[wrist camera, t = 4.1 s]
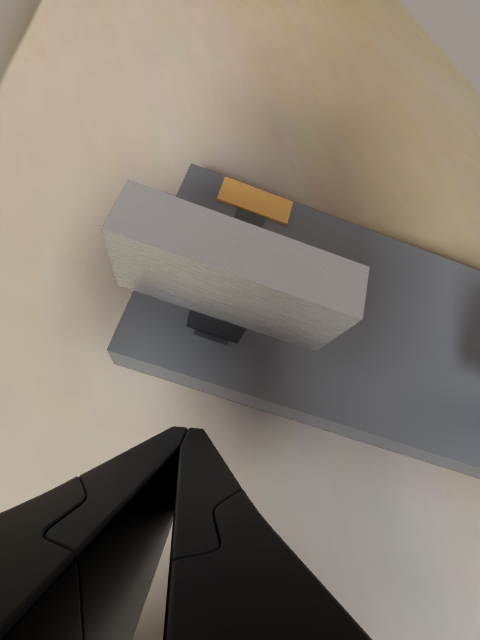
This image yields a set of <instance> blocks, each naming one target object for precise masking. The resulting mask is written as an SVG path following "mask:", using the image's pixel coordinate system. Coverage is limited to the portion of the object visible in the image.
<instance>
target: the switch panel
mask: <svg viewBox="0 0 480 640" xmlns="http://www.w3.org/2000/svg"><path fill="white" fill-rule="evenodd" d="M176 197H178V198H180V199H183V200H186V201H189V202H191V203H194V204H197V205H200V206H203V207H205V208H208V209H211V210H214V211H216V212H219V213H222V214H225V215H227V216H230V217H233V218H236V219H239V220H241V221H244V222H247V223H250V224H252V225H255V226H258V227H261V228H263V229H266V230H269V231H272V232H275V233H277V234H280V235H283V236H286V237H288V238H291V239H294V240H297V241H299V242H302V243H305V244H308V245H311V246H313V247H316V248H319V249H322V250H324V251H327V252H330V253H333V254H335V255H338V256H341V257H344V258H347V259H349V260H352V261H355V262H358V263H360V264H363V265H366V266H369V267H370V269H369V276H368V283H367V291H366V298H365V306H364V313H363V319H362V320H361V321H359V322H358V323H357V324H355V325H354V326H352V327H351V328H349V329H348V330H346V331H345V332H343V333H342V334H341V335H339V336H338V337H336V338H335V339H333V340H332V341H330V342H329V343H327V344H326V345H325V346H323V347H322V348H320V349H319V350H317V351H313V350H310V349H307V348H304V347H301V346H298V345H295V344H292V343H289V342H286V341H283V340H280V339H277V338H274V337H271V336H268V335H265V334H262V333H259V332H256V331H253V330H250V329H247V330H246V331H245V333H244V334H243V336H242V337H241V339H240V340H239V342H238V343H234V342H231V341H228V340H225V339H222V338H219V337H216V336H213V335H210V334H207V333H204V332H201V331H198V330H195V329H192V328H189V327H186V326H187V320H188V314H189V309H187V308H184V307H181V306H178V305H175V304H172V303H169V302H166V301H163V300H160V299H157V298H154V297H151V296H148V295H145V294H142V293H139V292H136V291H133V293H132V295H131V298H130V300H129V302H128V304H127V306H126V309H125V311H124V313H123V315H122V317H121V320H120V322H119V324H118V326H117V329H116V331H115V333H114V335H113V337H112V340H111V342H110V344H109V346H108V348H107V351H108V353H109V355H110V357H111V359H112V361H113V362H114V364H117V365H120V366H123V367H126V368H129V369H133V370H136V371H139V372H142V373H145V374H148V375H152V376H155V377H158V378H161V379H164V380H167V381H171V382H174V383H177V384H180V385H183V386H187V387H190V388H193V389H196V390H199V391H202V392H206V393H209V394H212V395H215V396H218V397H222V398H225V399H228V400H231V401H234V402H237V403H241V404H244V405H247V406H250V407H253V408H256V409H260V410H263V411H266V412H269V413H272V414H276V415H279V416H282V417H285V418H288V419H291V420H295V421H298V422H301V423H304V424H307V425H311V426H314V427H317V428H320V429H323V430H326V431H330V432H333V433H336V434H339V435H342V436H345V437H349V438H352V439H355V440H358V441H361V442H365V443H368V444H371V445H374V446H377V447H380V448H384V449H387V450H390V451H393V452H396V453H400V454H403V455H406V456H409V457H412V458H415V459H419V460H422V461H425V462H428V463H431V464H434V465H438V466H441V467H444V468H447V469H450V470H454V471H457V472H460V473H463V474H466V475H469V476H473V477H476V478H479V479H480V271H479V270H477V269H474V268H471V267H469V266H466V265H463V264H460V263H458V262H455V261H452V260H450V259H447V258H444V257H442V256H439V255H436V254H434V253H431V252H428V251H425V250H423V249H420V248H417V247H415V246H412V245H409V244H407V243H404V242H401V241H398V240H396V239H393V238H390V237H388V236H385V235H382V234H380V233H377V232H374V231H371V230H369V229H366V228H363V227H361V226H358V225H355V224H353V223H350V222H347V221H345V220H342V219H339V218H336V217H334V216H331V215H328V214H326V213H323V212H320V211H318V210H315V209H312V208H309V207H307V206H304V205H301V204H299V203H296V202H293V201H291V200H288V199H285V198H282V197H280V196H277V195H274V194H272V193H269V192H266V191H264V190H261V189H258V188H256V187H253V186H250V185H247V184H245V183H242V182H239V181H237V180H234V179H231V178H229V177H226V176H223V175H220V174H218V173H215V172H212V171H210V170H207V169H204V168H202V167H199V166H196V165H194V164H191V165H190V167H189V169H188V171H187V174H186V176H185V178H184V180H183V182H182V185H181V187H180V189H179V191H178V193H177V196H176Z"/></svg>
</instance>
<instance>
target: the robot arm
mask: <svg viewBox="0 0 480 640" xmlns="http://www.w3.org/2000/svg"><path fill="white" fill-rule="evenodd" d="M172 522H173V528H172V540H171V552H170V564H169V575H168V587H167V599H166V611H165V623H164V635H163V640H372V639H371V638H370V637H369V636H368V634H367V633H366V632H365V631H364V630H363V629H362V628H361V627H360V626H359V624H358V623H357V622H356V621H355V620H354V619H353V618H352V617H351V616H350V614H349V613H348V612H347V611H346V610H345V609H344V608H343V607H342V605H341V604H340V603H339V602H338V601H337V600H336V599H335V598H334V597H333V595H332V594H331V593H330V592H329V591H328V590H327V589H326V588H325V587H324V585H323V584H322V583H321V582H320V581H319V580H318V579H317V578H316V576H315V575H314V574H313V573H312V572H311V571H310V570H309V569H308V568H307V566H306V565H305V564H304V563H303V562H302V561H301V560H300V559H299V558H298V556H297V555H296V554H295V553H294V552H293V551H292V550H291V549H290V548H289V546H288V545H287V544H286V543H285V542H284V541H283V540H282V539H281V537H280V536H279V535H278V534H277V533H276V532H275V531H274V530H273V529H272V527H271V526H270V525H269V524H268V523H267V521H266V520H265V519H264V518H263V517H262V515H261V514H260V513H259V512H258V510H257V509H256V507H255V506H254V505H253V503H252V502H251V500H250V499H249V498H248V496H247V494H246V493H245V491H244V490H243V489H242V488H241V486H240V485H239V483H238V481H237V480H236V478H235V477H234V475H233V474H232V472H231V471H230V469H229V468H228V466H227V465H226V463H225V462H224V460H223V458H222V457H221V455H220V454H219V452H218V451H217V449H216V448H215V446H214V445H213V443H212V442H211V440H210V438H209V437H208V435H207V434H206V432H205V431H204V430H203V429H198V428H189V429H187V428H185V427H171V428H169V429H167V430H165V431H164V432H162V433H160V434H158V435H156V436H154V437H152V438H150V439H148V440H146V441H145V442H143V443H141V444H139V445H137V446H135V447H133V448H131V449H129V450H128V451H126V452H124V453H122V454H120V455H118V456H116V457H114V458H112V459H110V460H109V461H107V462H105V463H103V464H101V465H99V466H97V467H95V468H93V469H91V470H90V471H88V472H86V473H84V474H82V475H80V476H79V477H75V478H73V479H71V480H69V481H67V482H66V483H64V484H62V485H60V486H58V487H56V488H54V489H52V490H50V491H48V492H46V493H44V494H42V495H40V496H37V497H35V498H33V499H31V500H28V501H26V502H24V503H22V504H20V505H17V506H15V507H13V508H11V509H8V510H6V511H4V512H2V513H0V640H132V638H133V635H134V632H135V629H136V627H137V624H138V621H139V618H140V615H141V612H142V609H143V606H144V603H145V600H146V598H147V595H148V592H149V589H150V586H151V583H152V580H153V577H154V574H155V572H156V569H157V566H158V563H159V560H160V557H161V554H162V551H163V548H164V545H165V543H166V540H167V537H168V534H169V531H170V528H171V525H172Z"/></svg>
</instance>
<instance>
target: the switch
mask: <svg viewBox="0 0 480 640" xmlns="http://www.w3.org/2000/svg"><path fill="white" fill-rule="evenodd" d="M102 232H103V236H104V240H105V244H106V247H107V251H108V255H109V258H110V262H111V266H112V269H113V273H114V277H115V280H116V284H117V285H118V286H121V287H124V288H127V289H130V290H133V291H136V292H139V293H142V294H145V295H148V296H151V297H154V298H157V299H160V300H163V301H166V302H169V303H172V304H175V305H178V306H181V307H184V308H187V309H189V314H188V320H187V326H186V327H189V328H192V329H195V330H198V331H201V332H204V333H207V334H210V335H213V336H216V337H219V338H222V339H225V340H228V341H231V342H234V343H238V342H239V340H240V339H241V337H242V336H243V334H244V333H245V331H246V330H247V329H250V330H253V331H256V332H259V333H262V334H265V335H268V336H271V337H274V338H277V339H280V340H283V341H286V342H289V343H292V344H295V345H298V346H301V347H304V348H307V349H310V350H313V351H317V350H319V349H320V348H322V347H323V346H325V345H326V344H327V343H329V342H330V341H332V340H333V339H335V338H336V337H338V336H339V335H341V334H342V333H343V332H345V331H346V330H348V329H349V328H351V327H352V326H354V325H355V324H357V323H358V322H359V321H361V320H362V319H363V313H364V306H365V298H366V291H367V283H368V276H369V269H370V267H369V266H366V265H363V264H360V263H358V262H355V261H352V260H349V259H347V258H344V257H341V256H338V255H335V254H333V253H330V252H327V251H324V250H322V249H319V248H316V247H313V246H311V245H308V244H305V243H302V242H299V241H297V240H294V239H291V238H288V237H286V236H283V235H280V234H277V233H275V232H272V231H269V230H266V229H263V228H261V227H258V226H255V225H252V224H250V223H247V222H244V221H241V220H239V219H236V218H233V217H230V216H227V215H225V214H222V213H219V212H216V211H214V210H211V209H208V208H205V207H203V206H200V205H197V204H194V203H191V202H189V201H186V200H183V199H180V198H178V197H175V196H172V195H169V194H167V193H164V192H161V191H158V190H155V189H153V188H150V187H147V186H144V185H142V184H139V183H136V182H133V181H131V180H128V181H127V182H126V184H125V186H124V188H123V190H122V192H121V194H120V195H119V197H118V199H117V201H116V203H115V205H114V207H113V208H112V210H111V212H110V214H109V216H108V218H107V219H106V221H105V223H104V225H103V227H102Z"/></svg>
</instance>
